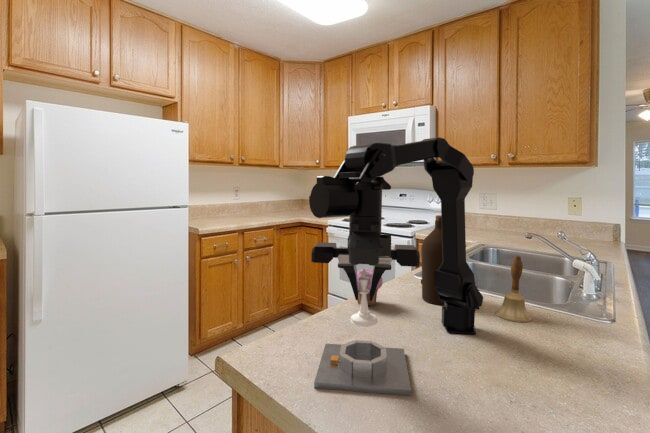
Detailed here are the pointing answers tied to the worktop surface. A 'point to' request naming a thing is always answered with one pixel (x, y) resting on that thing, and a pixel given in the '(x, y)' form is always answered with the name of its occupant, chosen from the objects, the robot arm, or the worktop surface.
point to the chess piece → (364, 305)
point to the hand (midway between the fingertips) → (363, 300)
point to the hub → (363, 368)
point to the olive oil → (431, 262)
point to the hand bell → (514, 297)
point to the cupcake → (368, 287)
